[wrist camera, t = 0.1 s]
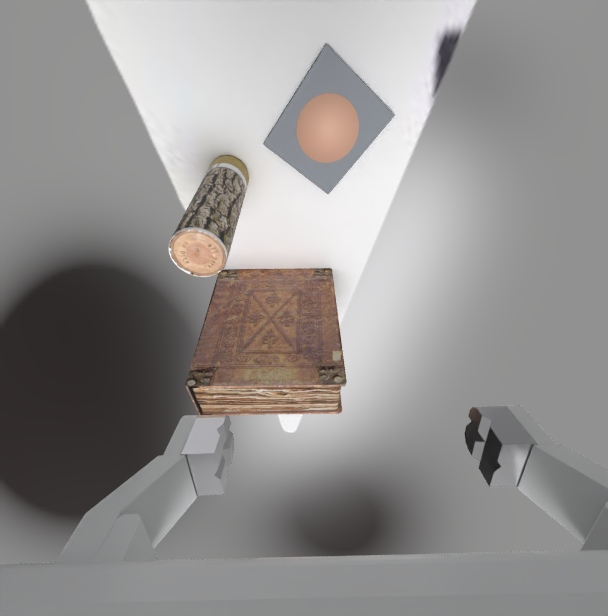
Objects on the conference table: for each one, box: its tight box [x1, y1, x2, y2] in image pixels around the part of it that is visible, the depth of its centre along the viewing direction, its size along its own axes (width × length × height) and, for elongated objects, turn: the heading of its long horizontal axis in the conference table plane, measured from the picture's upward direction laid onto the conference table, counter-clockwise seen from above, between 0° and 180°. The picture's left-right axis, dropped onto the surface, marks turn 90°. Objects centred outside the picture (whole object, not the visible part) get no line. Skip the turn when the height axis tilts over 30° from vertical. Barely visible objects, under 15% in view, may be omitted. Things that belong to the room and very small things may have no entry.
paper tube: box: [169, 156, 249, 277], centre depth 47 cm, size 7×7×25 cm
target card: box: [264, 44, 395, 194], centre depth 51 cm, size 16×14×1 cm
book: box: [185, 268, 346, 415], centre depth 63 cm, size 25×9×30 cm, turn 90°
